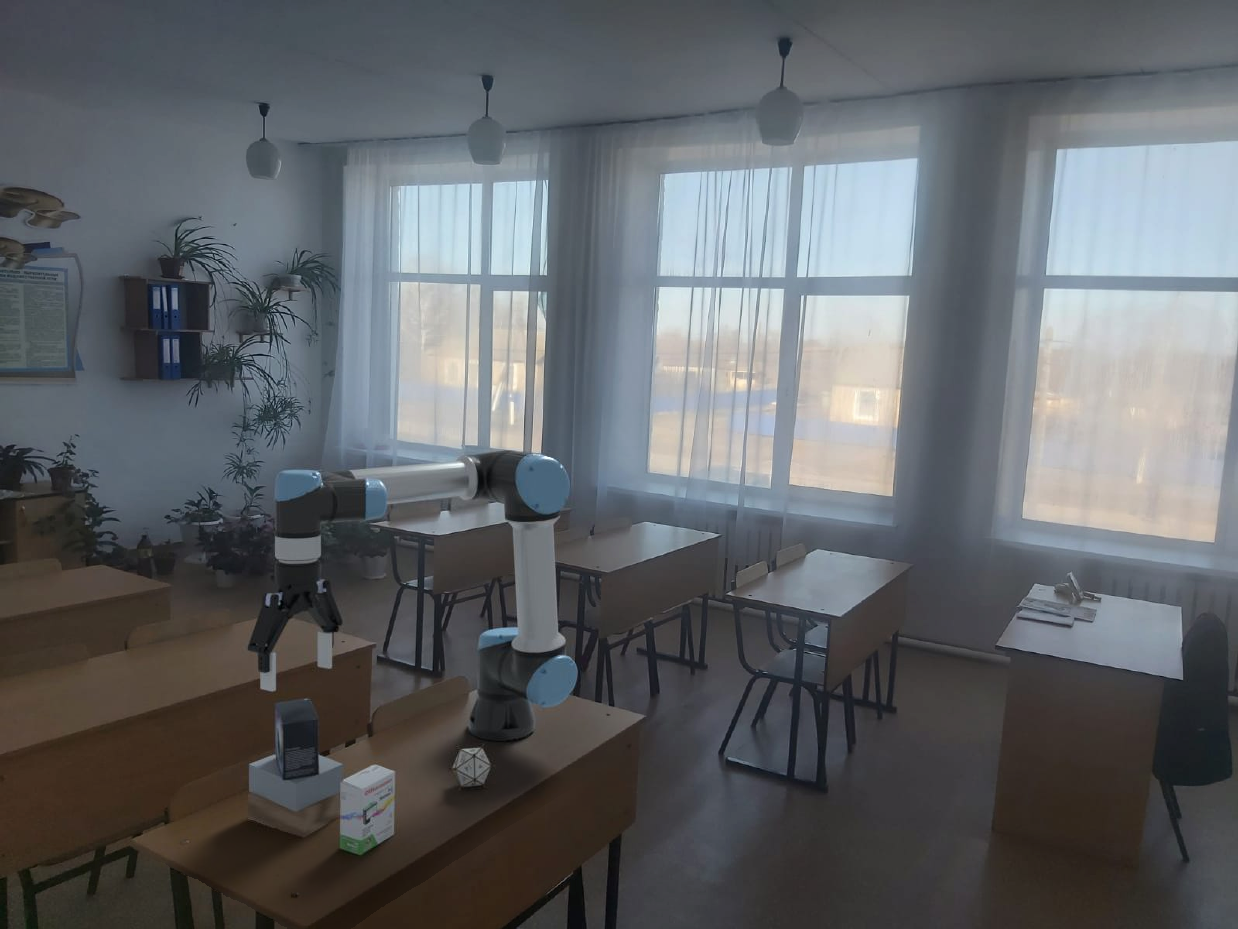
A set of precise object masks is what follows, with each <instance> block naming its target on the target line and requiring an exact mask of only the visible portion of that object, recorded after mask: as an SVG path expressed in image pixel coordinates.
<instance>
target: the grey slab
mask: <svg viewBox="0 0 1238 929" xmlns="http://www.w3.org/2000/svg"><path fill="white" fill-rule="evenodd" d="M343 780H344V763H342V762H340V761H336V760H333V759H331V758H328V757H326V756H323V755H320V754H319V775H314V776H308V777H302V778H296V779H290V780H284V781H283V779H282V776H281V773H280V770H279V766H278V763H277V760H276V755H275V753H274V754H272V755H269V756H266V757H264V758H262V759H259V760H256V761H254V762H251V763H249V764H248V791H249V792H250V793H255V794H257V795H259V796H261V797H264V798H266V799H268V800H270V801H273V802H275V803H277V804H279V805H282V806H284V807H286V808H288V809H291V810H293V811H295V812H297V811H299V810H302V809H304V808H306V807H308V806H310V805H313V804H315V803H317V802H319V801H321V800H324V799H326V798H328V797H330V796H333V795H335V794H337V793H339V792H340V783H341V782H343Z"/></svg>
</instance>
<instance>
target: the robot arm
mask: <svg viewBox="0 0 1238 929" xmlns="http://www.w3.org/2000/svg"><path fill="white" fill-rule="evenodd" d="M570 486H571V484H570V477H569V475H568V473H567V471H566V468H564V465H562V464H561V463H560V462H559V461H558V460H556V459H555V458H553V457H549V456H546V455H544V454H541V453H532V452H526V451H525V452H523V451H516V450H505V449H504V450H496V451H490V452H483V453H482V452H481V453H475V454H469V455H460V456H459V457H458V458H456V459H455V461H454V460H453V461H443V462H429V463H418V464H407V465H396V466H395V465H394V466H383V467H372V468H360V469H349V470H338V471H336V470H335V471H324V470H321V469H319V470H312V469H288V470H287V469H286V470H281V471H280V472H278V474H276V477H275V483H274V496H273V500H274V524H275V525H274V526H275V527H274V528H275V530H274V557H275V558H276V559H277V560H275V562H274V580H275V583H276V584H277V586H278V588H277V592H275V593H270V592H264V593H263V595H262V601H261V608H260V611H259V613H258V617H257V620H256V623H255V625H254V628H253V631H252V633H251V636H250V639H249V642H248V645H247V648H246V650H247V651H248V652H252V653H256V654H257V670H258V672H259V673H260V674H259V675H260V676H259V677H260V679H259V680H260V683H259V684H260V685H259V686H260V690H264V691H268V692H275V691H276V690H277V653H276V652H274V651H273V650H274V648H275V646H276V645H277V643H278V642H279V639H280V637H281V635H282V634H283V631H284V630H285V628H286V627H287V624H288V622H289V620H291V619H293V617H294V616H295V615H297V614H300V613H302V612H308V613H309V615H310V616H311V618H313V620H314V622H316V624H317V625H318V627H319V628H320V629H321V630H319V631H317V667H318V668H322V669H333V648H334V643H335V639H334V637H335V633H338V632H339V631H340V627H341V626H342V625H343V622H344V621H343V619H342V615H341V614H340V611H339V608H338V606H337V603H336V600H335V598H334V596H333V592H332V586H331V584H332V583H331V581H330V580H328V579H323V578H321V572H322V571H321V568H322V567H321V563H322V562H321V560H320V559H319V558H320V557H321V556H322V555H321V554H322V545H321V544H322V543H321V542H322V540H321V539H322V537H321V536H322V535H321V534H322V524H330V523H344V522H345V523H346V522H359V521H361V522H362V521H364V522H368V521H371V520H378V519H380V518H382V517H383V516H384V515H385V513H386V512H387V509H388V505H393V504H395V505H396V504H403V503H410V502H411V503H412V502H419V501H420V502H421V501H429V500H439V499H448V498H460V499H461V500H463V501H472V500H473V501H474V500H479V501H481V500H482V501H488V502H495V503H499V504H503V509H504V510H503V511H504V520H505V521H506V522H507V523H508V525H510V526H511V527H512V540H513V541H512V542H513V543H512V544H513V558H514V562H513V563H514V577H515V578H514V579H515V581H514V582H515V598H516V616H517V617H516V618H517V627H516V626H515V627H499V628H493V629H488V630H486V631H484V632H482V633H481V634H480V635H479V638H478V645H477V652H478V653H477V689H476V691H477V695H476V698H475V701H474V704H473V707H472V709H471V711H470V715H469V718H468V732H469V733H470V734H471V735H472V736H474V737H477V738H479V739H482V740H486V741H494V742H506V741H507V740H510V741H514V740H513V739H516V740H520V739H519V738H521V739H523V738H522V737H524V736H526V737H528V736H530V735H531V734H530V733H531V732H533V731H534V732H535V730H536V717H535V713H534V710H533V706H532V705H536V706H537V705H538V706H540V707H543V708H552V707H556V706H558V705H560V704H561V703H563V702H564V701H565V700H566V699H567V698H568V697H569V696H570V693H571V692H573V690H574V688H575V686H576V683H577V680H578V674H579V672H578V667H577V664H576V663H575V661H574V660H573V658H571V656H568V655H567V645H566V644H567V643H566V642H567V641H566V638H565V636H564V635H562V634H561V633H560V632H559V621H558V601H557V600H558V598H557V574H556V557H555V556H556V555H555V535H554V534H555V532H554V531H555V529H554V525H555V523H556V522H557V521H558V520H559V519H560V517H561V509H562V508H563V507H564V506H565V505H566V501H567V500H568V498H569V496H570V490H571V487H570ZM534 729H535V730H534ZM534 732H533V733H534ZM529 734H530V735H529ZM527 735H528V736H527ZM524 738H525V737H524ZM507 742H508V741H507Z"/></svg>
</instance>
